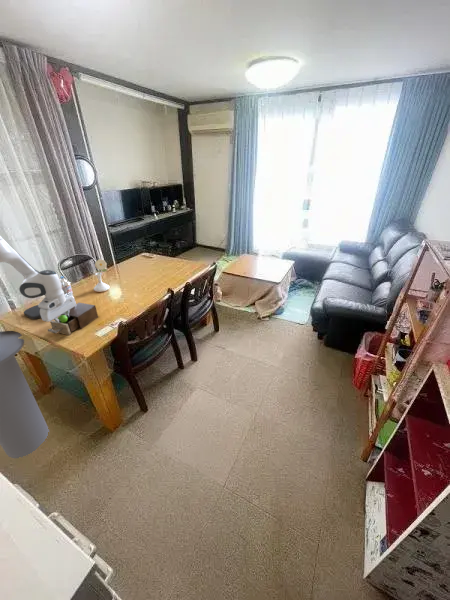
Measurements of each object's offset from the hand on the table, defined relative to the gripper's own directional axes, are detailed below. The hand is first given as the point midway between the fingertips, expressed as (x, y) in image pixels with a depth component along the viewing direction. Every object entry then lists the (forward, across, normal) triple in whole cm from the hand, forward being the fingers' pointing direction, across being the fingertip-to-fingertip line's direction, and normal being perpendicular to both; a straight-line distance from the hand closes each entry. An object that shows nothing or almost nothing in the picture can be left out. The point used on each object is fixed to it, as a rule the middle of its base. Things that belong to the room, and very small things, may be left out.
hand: (63, 320), depth 147 cm
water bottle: (+8, -20, -15) cm, 26 cm away
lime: (+2, 0, 0) cm, 2 cm away
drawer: (+7, -1, 0) cm, 7 cm away
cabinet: (+8, -12, 0) cm, 14 cm away
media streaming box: (+8, -12, -33) cm, 36 cm away
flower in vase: (+8, -54, -18) cm, 57 cm away
